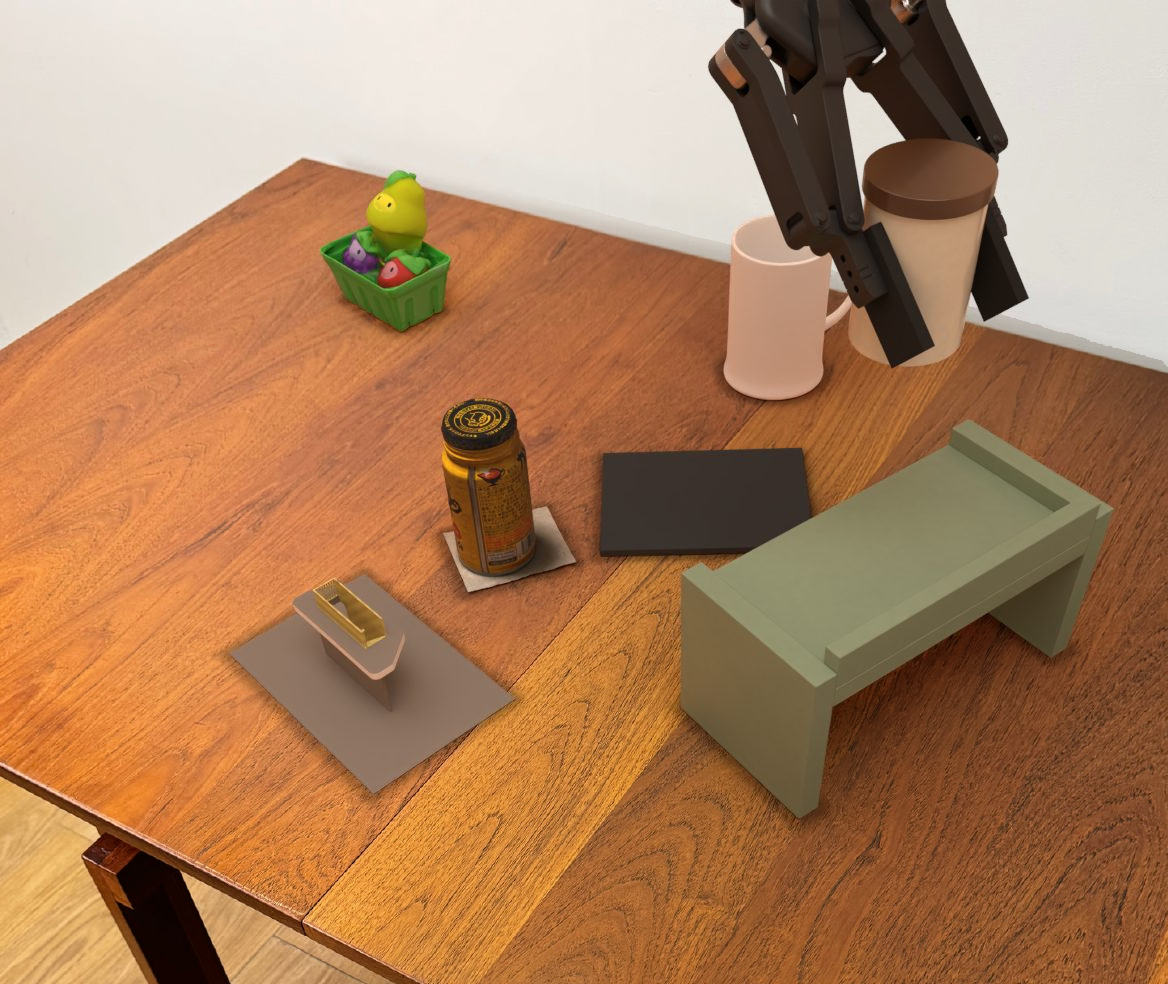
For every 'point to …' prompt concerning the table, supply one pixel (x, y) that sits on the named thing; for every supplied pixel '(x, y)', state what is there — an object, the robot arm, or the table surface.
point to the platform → (369, 679)
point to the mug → (776, 313)
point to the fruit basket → (392, 258)
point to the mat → (700, 500)
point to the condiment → (494, 499)
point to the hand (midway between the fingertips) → (960, 332)
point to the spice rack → (879, 597)
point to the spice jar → (928, 233)
